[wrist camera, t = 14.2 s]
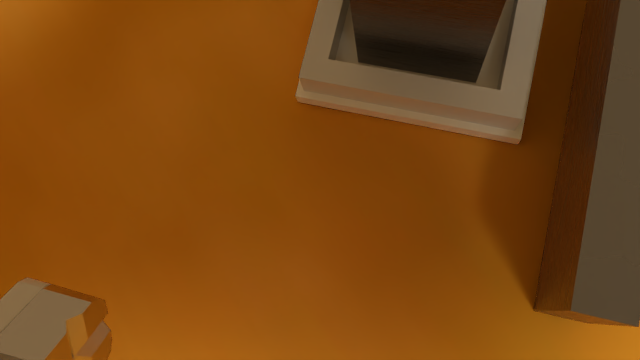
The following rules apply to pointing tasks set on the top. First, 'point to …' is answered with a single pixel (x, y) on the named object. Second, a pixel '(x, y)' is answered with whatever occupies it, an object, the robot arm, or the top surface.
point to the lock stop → (426, 35)
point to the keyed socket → (426, 77)
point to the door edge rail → (598, 178)
